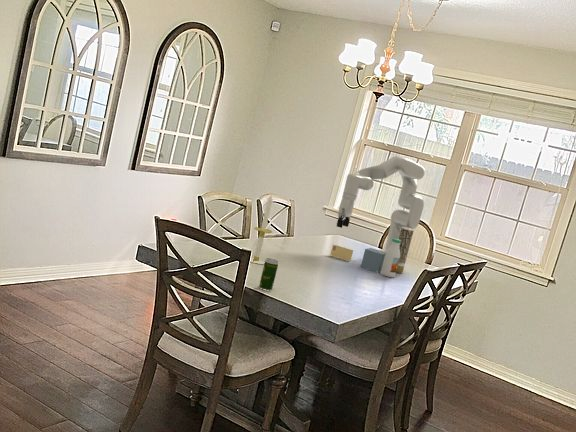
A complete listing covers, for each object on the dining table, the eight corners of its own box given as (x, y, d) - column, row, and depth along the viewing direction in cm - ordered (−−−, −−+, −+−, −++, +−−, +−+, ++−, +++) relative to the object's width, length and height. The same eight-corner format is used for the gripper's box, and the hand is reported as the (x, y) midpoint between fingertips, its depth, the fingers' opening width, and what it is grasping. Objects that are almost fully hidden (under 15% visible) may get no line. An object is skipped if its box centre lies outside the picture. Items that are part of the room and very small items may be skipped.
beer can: (271, 288, 270) (278, 259, 268) (272, 292, 264) (279, 262, 263) (258, 285, 269) (265, 257, 267) (259, 289, 264) (265, 260, 262)
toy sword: (242, 260, 310) (258, 191, 305) (248, 257, 319) (264, 190, 315) (262, 266, 307) (279, 196, 303) (268, 262, 317) (284, 195, 313)
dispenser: (366, 265, 372) (370, 247, 371) (383, 270, 368) (387, 253, 367) (360, 266, 364) (365, 248, 362) (377, 272, 360) (382, 254, 358)
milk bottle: (383, 276, 352) (393, 239, 350) (378, 272, 360) (387, 236, 357) (396, 278, 354) (406, 242, 352) (391, 274, 362) (400, 238, 359)
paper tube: (402, 274, 371) (413, 230, 368) (390, 271, 372) (401, 227, 369) (402, 272, 377) (414, 229, 374) (390, 269, 379) (402, 226, 375)
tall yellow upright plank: (330, 255, 376) (333, 244, 376) (350, 261, 372) (353, 250, 371) (330, 255, 375) (332, 244, 375) (349, 261, 371) (352, 250, 370)
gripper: (348, 194, 380) (341, 224, 382) (337, 194, 364) (330, 225, 367) (360, 198, 377) (353, 227, 379) (350, 198, 361) (343, 229, 364)
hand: (342, 226), depth 373 cm, fingers open, 9 cm apart
